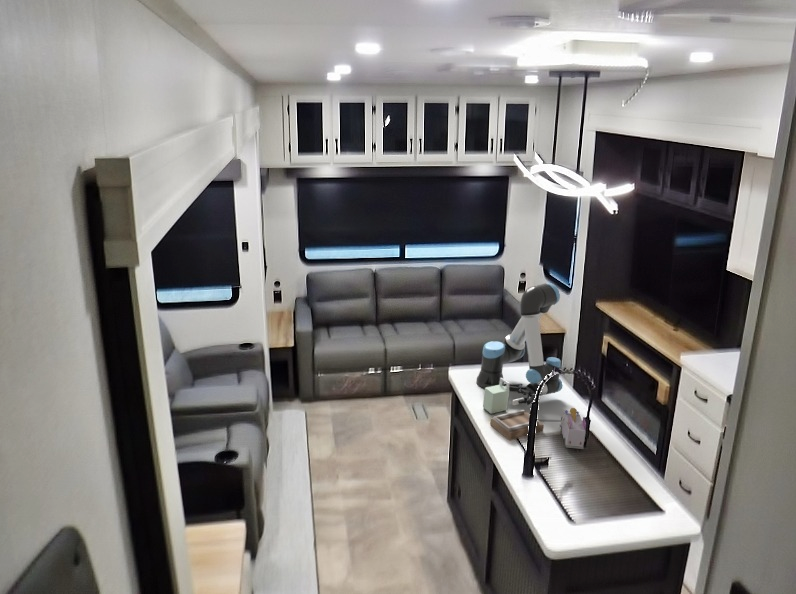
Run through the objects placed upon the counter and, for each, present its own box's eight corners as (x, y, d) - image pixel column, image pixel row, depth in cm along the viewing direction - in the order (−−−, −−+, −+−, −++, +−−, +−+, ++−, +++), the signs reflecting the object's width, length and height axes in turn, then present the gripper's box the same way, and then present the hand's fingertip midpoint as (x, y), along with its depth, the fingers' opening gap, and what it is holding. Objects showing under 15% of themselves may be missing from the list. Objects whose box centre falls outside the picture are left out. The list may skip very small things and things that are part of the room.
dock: (522, 416, 311) (523, 407, 310) (542, 431, 299) (544, 421, 297) (489, 424, 302) (491, 414, 300) (509, 440, 289) (510, 430, 288)
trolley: (498, 405, 322) (501, 377, 317) (506, 411, 316) (510, 383, 311) (482, 408, 317) (485, 380, 312) (490, 415, 311) (494, 386, 306)
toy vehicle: (576, 431, 301) (581, 403, 297) (584, 453, 283) (589, 423, 278) (557, 429, 302) (561, 401, 297) (563, 451, 283) (568, 421, 279)
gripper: (551, 406, 316) (519, 414, 306) (520, 385, 337) (488, 393, 327) (553, 393, 314) (520, 401, 304) (521, 373, 334) (490, 380, 324)
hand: (504, 396), depth 315 cm, fingers open, 13 cm apart
